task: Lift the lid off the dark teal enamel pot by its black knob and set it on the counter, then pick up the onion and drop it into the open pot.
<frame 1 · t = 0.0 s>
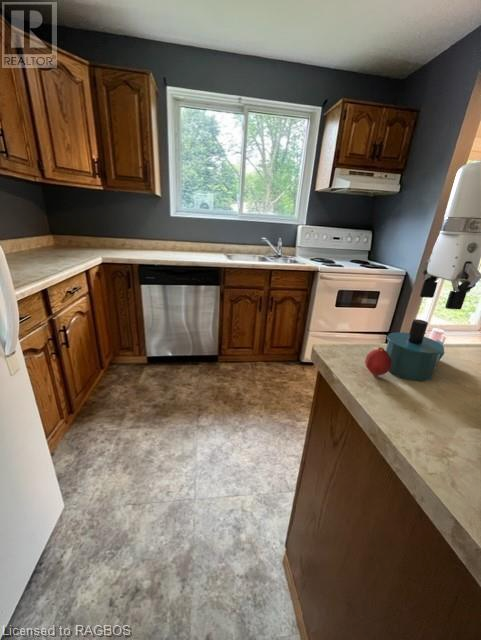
hand: (438, 302, 65), 19 cm above the countertop, tool pointing down, fingers open, 9 cm apart
onion: (374, 375, 68), on the countertop
yogurt: (427, 364, 75), on the countertop, touching pot
lid: (413, 343, 69), point 7 cm above the countertop, touching pot
pot: (406, 369, 72), on the countertop
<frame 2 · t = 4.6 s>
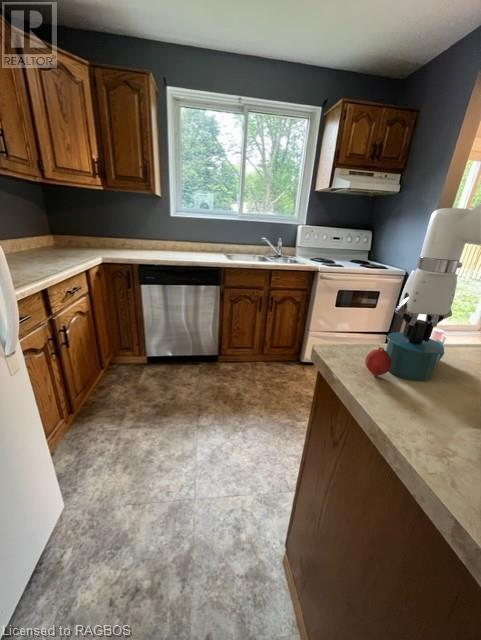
hand: (415, 338, 69), 9 cm above the countertop, tool pointing down, fingers closed on lid, 3 cm apart
lid: (413, 343, 69), point 8 cm above the countertop, touching gripper, pot
everything else where it was.
when the fingers open (2 cm above the countertop, at t = 13.3 s): lid stays where it is, point 1 cm above the countertop.
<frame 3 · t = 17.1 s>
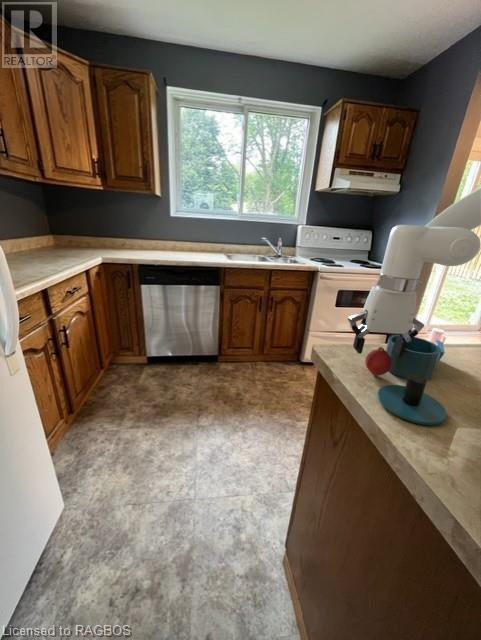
hand: (377, 352, 66), 6 cm above the countertop, tool pointing down, fingers open, 9 cm apart
lid: (409, 404, 57), point 1 cm above the countertop
everything else where it was.
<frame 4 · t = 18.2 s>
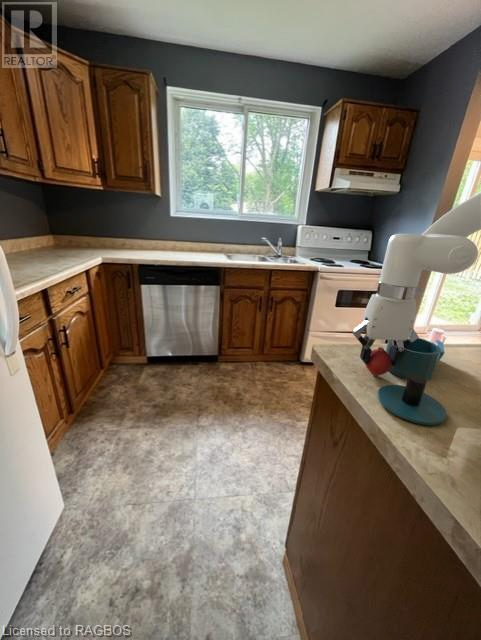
hand: (377, 361, 67), 4 cm above the countertop, tool pointing down, fingers open, 5 cm apart
onion: (374, 376, 68), on the countertop, touching gripper
everything else where it was.
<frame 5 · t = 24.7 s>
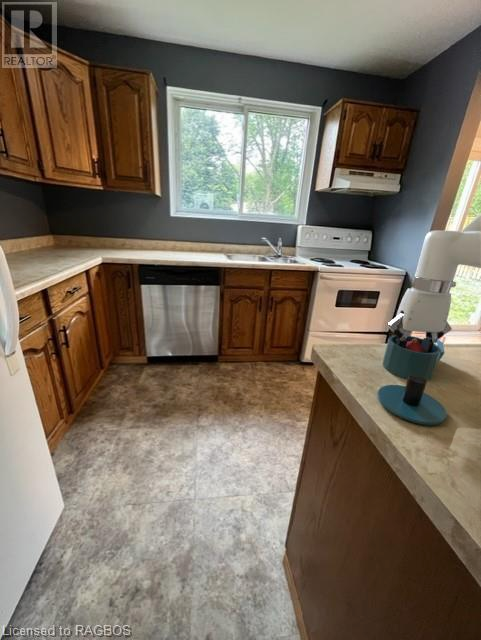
hand: (411, 353, 70), 5 cm above the countertop, tool pointing down, fingers closed on onion, 5 cm apart
onion: (407, 366, 72), point 1 cm above the countertop, touching gripper
everything else where it was.
when the fingers open (7 cm above the countertop, at t = 37.9 s): onion drops 3 cm, resting on pot.
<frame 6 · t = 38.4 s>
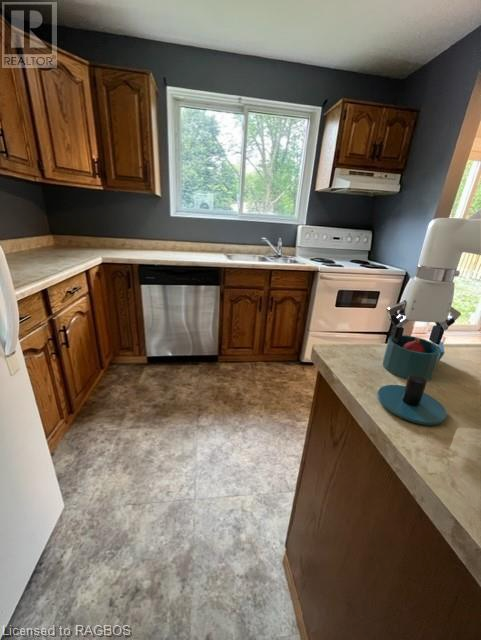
hand: (414, 341, 69), 8 cm above the countertop, tool pointing down, fingers open, 9 cm apart
onion: (407, 367, 72), point 1 cm above the countertop, touching pot
everything else where it was.
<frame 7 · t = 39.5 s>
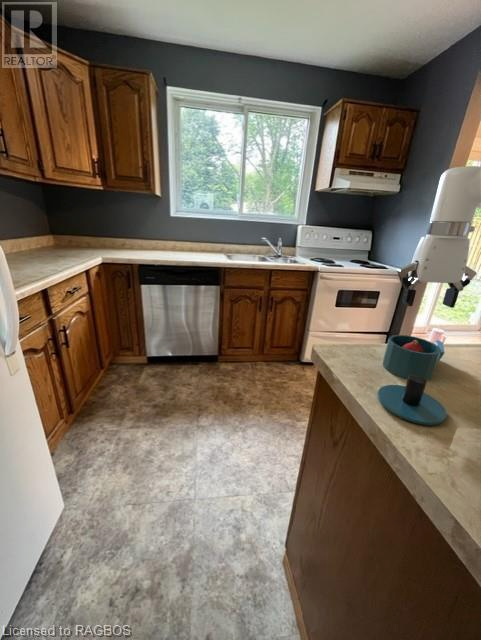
hand: (427, 305, 65), 18 cm above the countertop, tool pointing down, fingers open, 9 cm apart
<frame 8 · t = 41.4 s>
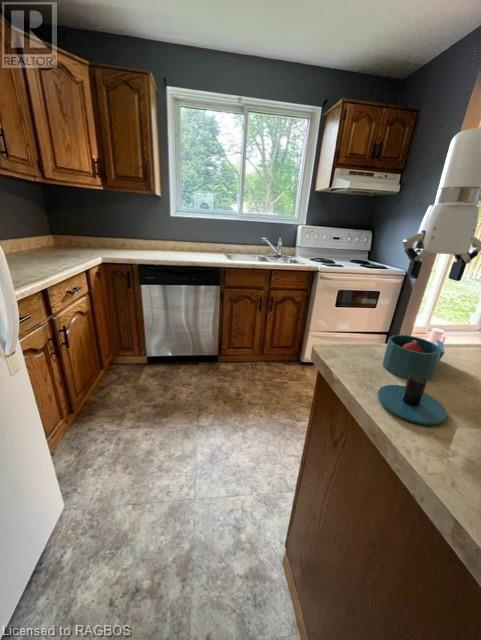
hand: (433, 278, 63), 24 cm above the countertop, tool pointing down, fingers open, 9 cm apart
nothing on the countertop moved.
at the end: lid inside the target area (0.0 cm from its centre), point 0.6 cm above the countertop; onion 0.1 cm off-centre in the pot, point 0.3 cm above the pot's base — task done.
